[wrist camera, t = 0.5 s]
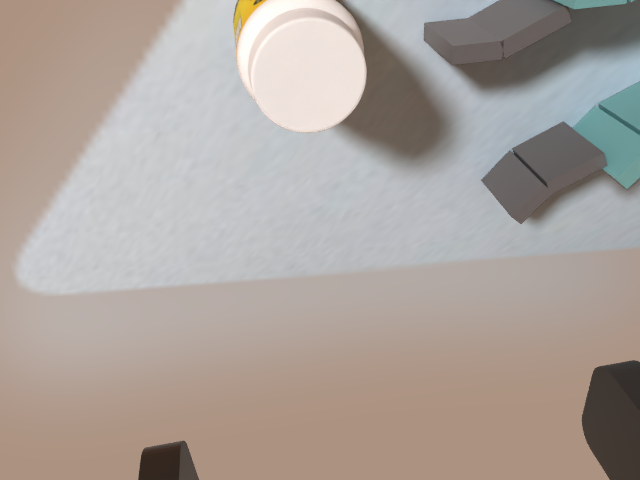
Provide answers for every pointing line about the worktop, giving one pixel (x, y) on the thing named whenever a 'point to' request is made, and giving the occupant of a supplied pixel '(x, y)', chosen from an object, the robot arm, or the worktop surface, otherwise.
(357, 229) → the worktop surface
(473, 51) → the pair of grey blocks
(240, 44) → the supplement bottle
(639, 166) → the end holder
